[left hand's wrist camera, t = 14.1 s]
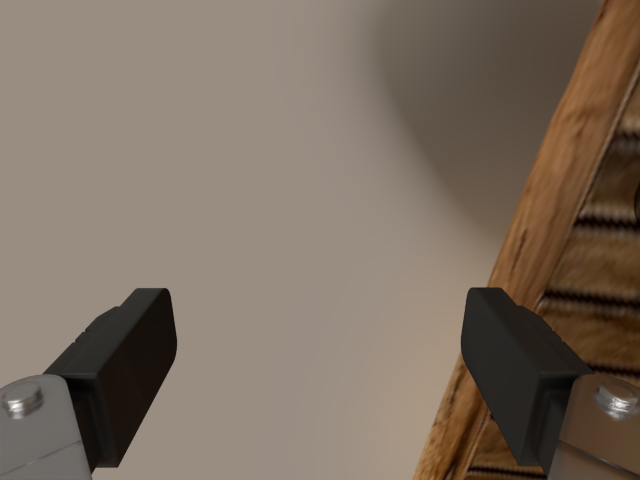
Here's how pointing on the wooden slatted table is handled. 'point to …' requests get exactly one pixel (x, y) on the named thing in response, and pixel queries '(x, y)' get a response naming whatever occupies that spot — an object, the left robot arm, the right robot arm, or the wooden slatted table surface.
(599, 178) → the wooden slatted table surface
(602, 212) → the wooden slatted table surface
